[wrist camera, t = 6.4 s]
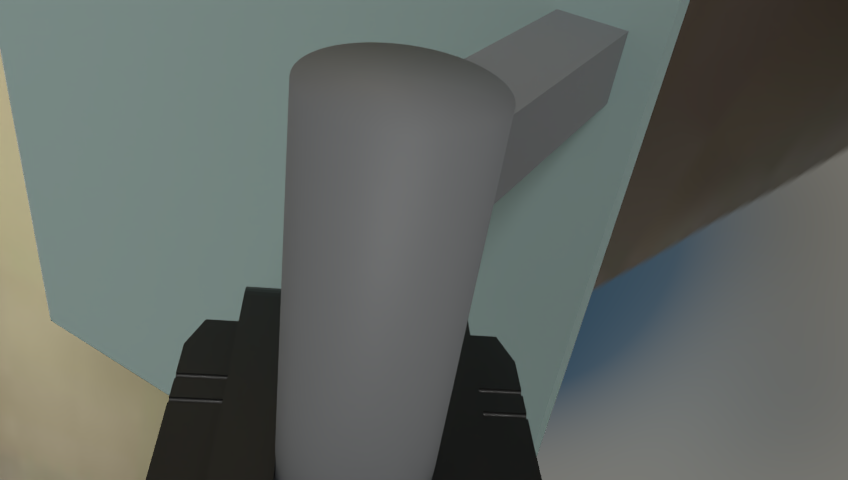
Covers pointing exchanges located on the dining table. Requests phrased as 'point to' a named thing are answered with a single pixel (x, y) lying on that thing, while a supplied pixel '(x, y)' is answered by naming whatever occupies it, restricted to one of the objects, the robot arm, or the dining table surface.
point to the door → (334, 190)
